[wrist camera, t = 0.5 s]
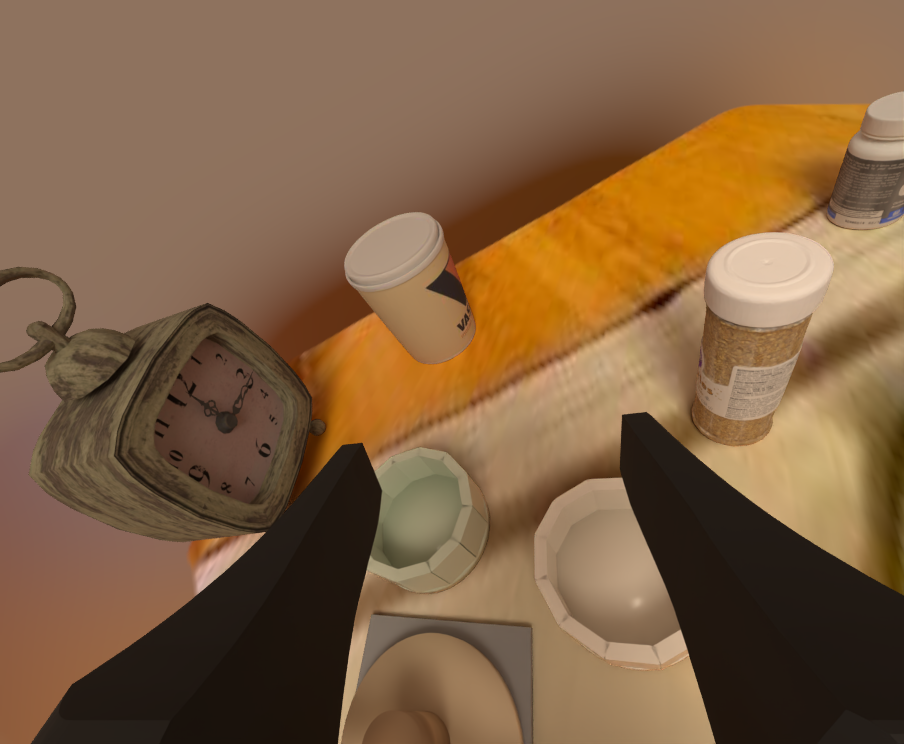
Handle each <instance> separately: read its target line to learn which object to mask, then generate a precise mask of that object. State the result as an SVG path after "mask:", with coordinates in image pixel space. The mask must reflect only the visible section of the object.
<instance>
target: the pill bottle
mask: <svg viewBox="0 0 904 744" xmlns="http://www.w3.org/2000/svg"><path fill="white" fill-rule="evenodd" d="M903 215H904V91H903V92H898V93H894V94H891V95H888V96H885V97H882V98H880V99H878V100H876V101H875V102H873V103H872V104H871V105H870V106H869V107H868V108H867V110H866V113H865V116H864V119H863V121H862V125H861V128H860V131H859V132H857V133H856V134H855V135H854V136H853V137H852V139H851V140H850V142H849V145H848V148H847V151H846V154H845V157H844V160H843V163H842V166H841V168H840V172H839V175H838V178H837V181H836V184H835V187H834V190H833V193H832V196H831V200H830V203H829V206H828V209H827V217H828V219H829V220H830V221H831V222H833V223H834V224H836V225H838V226H840V227H844V228H849V229H860V230H865V229H876V228H881V227H884V226H887V225H890V224H892V223H894V222H896V221H898V220H899V219H900V218H901V217H902V216H903Z"/></svg>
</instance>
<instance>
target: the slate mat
mask: <svg viewBox="0 0 904 744" xmlns="http://www.w3.org/2000/svg"><path fill="white" fill-rule="evenodd" d="M424 633H440V634H446V635H449V636H452V637H455V638H458V639H460V640H463V641H465V642H467V643H469V644H470V645H472V646H474V647H475V648H476V649H478V650H479V651H480V652H482V653H483V654H484V655H485V656H486V657H487V658H488V659H489V660H490V661H491V662H492V664H493V665H494V666H495V667H496V669H497V670H498V671H499V673H500V674H501V676H502V678H503V679H504V681H505V683H506V684H507V687H508V689H509V691H510V693H511V695H512V697H513V700H514V703H515V706H516V709H517V712H518V715H519V719H520V723H521V728H522V733H523V740H524V744H533V678H532V628H531V627H519V626H507V625H494V624H482V623H470V622H457V621H445V620H433V619H420V618H408V617H396V616H383V615H371V619H370V624H369V629H368V634H367V639H366V644H365V649H364V654H363V659H362V664H361V669H360V674H359V679H358V684H357V689H358V687H359V685H360V684H361V682H362V680H363V678H364V677H365V675H366V674H367V672H368V671H369V669H370V668H371V667H372V665H373V664H374V663H375V662H376V661H377V660H378V659H379V657H380V656H381V655H383V654H384V653H385V652H386V651H387V650H388V649H389V648H391V647H392V646H394V645H395V644H397V643H398V642H400V641H402V640H404V639H406V638H408V637H411V636H414V635H417V634H424ZM357 689H356V691H357Z"/></svg>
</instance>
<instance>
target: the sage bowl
mask: <svg viewBox="0 0 904 744" xmlns="http://www.w3.org/2000/svg"><path fill="white" fill-rule="evenodd" d="M375 474H376V477H377V479H378V481H379V484H380V486H381V489H382V498H381V507H380V514H379V522H378V527H377V531H376V535H375V539H374V543H373V547H372V551H371V555H370V559H369V563H368V566H367V571H369V572H371V573H373V574H375V575H377V576H379V577H381V578H383V579H386V580H388V581H390V582H392V583H394V584H396V585H398V586H400V587H402V588H404V589H406V590H408V591H411V592H414V593H420V594H432V593H438V592H441V591H444V590H447V589H449V588H451V587H453V586H455V585H456V584H458V583H459V582H461V581H462V580H463V579H464V578H465V577H466V576H467V575H469V573H470V572H471V571H472V570H473V569H474V568H475V566H476V565H477V563H478V562H479V560H480V558H481V556H482V554H483V552H484V550H485V547H486V544H487V540H488V536H489V529H490V517H489V510H488V506H487V503H486V500H485V498H484V496H483V494H482V492H481V490H480V489H479V487H478V486H477V485H476V484H475V482H474V481H473V480H472V479H471V477H470V476H469V475H468V474H467V472H466V471H465V470H464V469H463V468H462V467H461V466H460V465H459V464H458V463H457V462H456V461H455V460H454V459H453V458H452V457H451V456H450V455H449V454H448V453H447V452H443V451H438V450H433V449H428V448H423V447H418V448H415V449H412V450H409V451H406V452H403V453H400V454H397V455H394V456H392V458H391V457H390V458H389V459H388V460H387V461H386V462H385V463H384V464H383V465H381V466H380V467H379V468H378V469H377V470H376V471H375Z"/></svg>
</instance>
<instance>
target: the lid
mask: <svg viewBox="0 0 904 744" xmlns="http://www.w3.org/2000/svg"><path fill="white" fill-rule="evenodd" d="M341 744H524V740H523V733H522V728H521V723H520V719H519V715H518V712H517V709H516V706H515V703H514V700H513V697H512V695H511V693H510V691H509V689H508V687H507V684H506V683H505V681H504V679H503V678H502V676H501V674H500V673H499V671H498V670H497V669H496V667H495V666H494V665H493V664H492V662H491V661H490V660H489V659H488V658H487V657H486V656H485V655H484V654H483V653H482V652H480V651H479V650H478V649H476V648H475V647H474V646H472V645H470V644H469V643H467V642H465V641H463V640H460V639H458V638H455V637H452V636H449V635H446V634H440V633H424V634H417V635H414V636H411V637H408V638H406V639H404V640H402V641H400V642H398V643H397V644H395V645H394V646H392V647H391V648H389V649H388V650H387V651H386V652H385V653H384V654H383V655H381V656H380V657H379V659H378V660H377V661H376V662H375V663H374V664H373V665H372V667H371V668H370V669H369V671H368V672H367V674H366V675H365V677H364V678H363V680H362V682H361V684H360V685H359V687H358V689H357V691H356V694H355V696H354V698H353V700H352V703H351V706H350V709H349V712H348V715H347V718H346V722H345V726H344V730H343V735H342V742H341Z"/></svg>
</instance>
